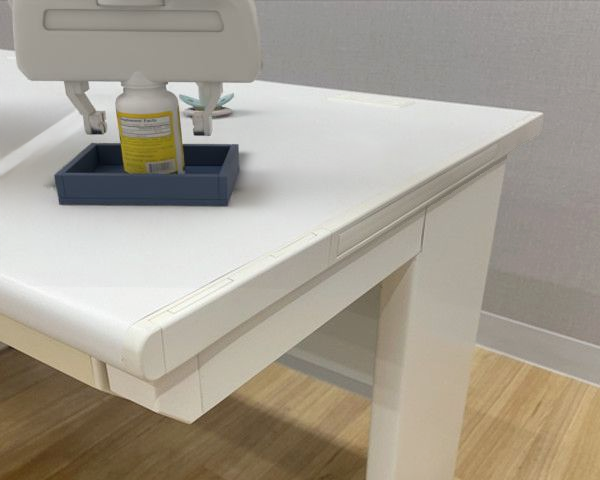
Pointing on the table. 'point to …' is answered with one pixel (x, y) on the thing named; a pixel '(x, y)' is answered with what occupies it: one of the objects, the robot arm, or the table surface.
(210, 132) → the robot arm
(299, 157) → the table surface
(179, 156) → the supplement bottle
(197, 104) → the pacifier
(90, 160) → the tray
